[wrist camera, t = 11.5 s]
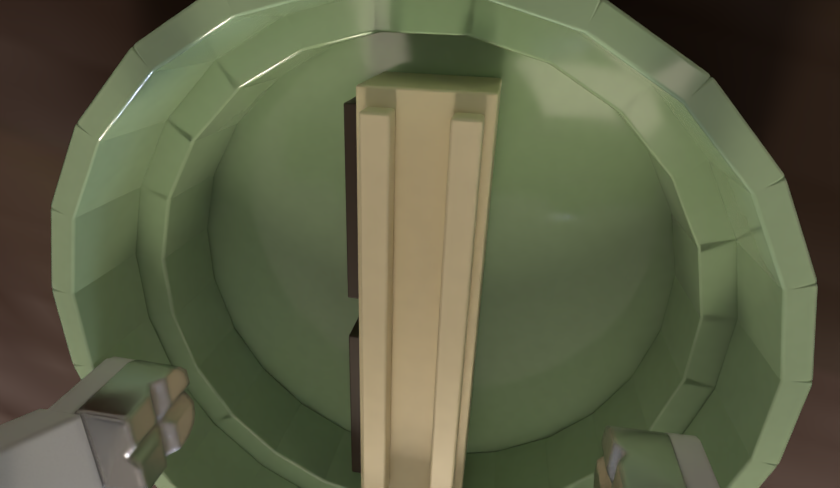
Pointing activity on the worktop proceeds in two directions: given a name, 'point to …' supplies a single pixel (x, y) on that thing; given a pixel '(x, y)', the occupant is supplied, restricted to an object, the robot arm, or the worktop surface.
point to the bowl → (505, 248)
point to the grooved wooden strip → (416, 269)
